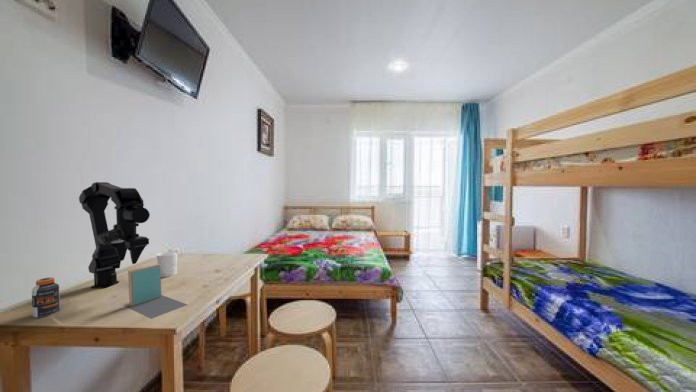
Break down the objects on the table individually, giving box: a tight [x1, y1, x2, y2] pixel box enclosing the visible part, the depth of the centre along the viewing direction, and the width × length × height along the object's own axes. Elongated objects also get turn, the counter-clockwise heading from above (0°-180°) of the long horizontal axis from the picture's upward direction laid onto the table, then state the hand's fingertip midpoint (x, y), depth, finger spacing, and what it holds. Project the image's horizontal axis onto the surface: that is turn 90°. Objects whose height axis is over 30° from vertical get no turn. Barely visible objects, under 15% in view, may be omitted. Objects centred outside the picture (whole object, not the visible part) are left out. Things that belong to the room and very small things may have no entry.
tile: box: [127, 263, 162, 306], centre depth 96 cm, size 2×9×12 cm, turn 150°
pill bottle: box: [31, 277, 61, 318], centre depth 88 cm, size 6×6×11 cm
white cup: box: [156, 250, 178, 278], centre depth 125 cm, size 8×8×10 cm
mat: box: [123, 294, 188, 319], centre depth 93 cm, size 19×11×1 cm, turn 60°
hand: (127, 262), depth 105 cm, fingers open, 9 cm apart
